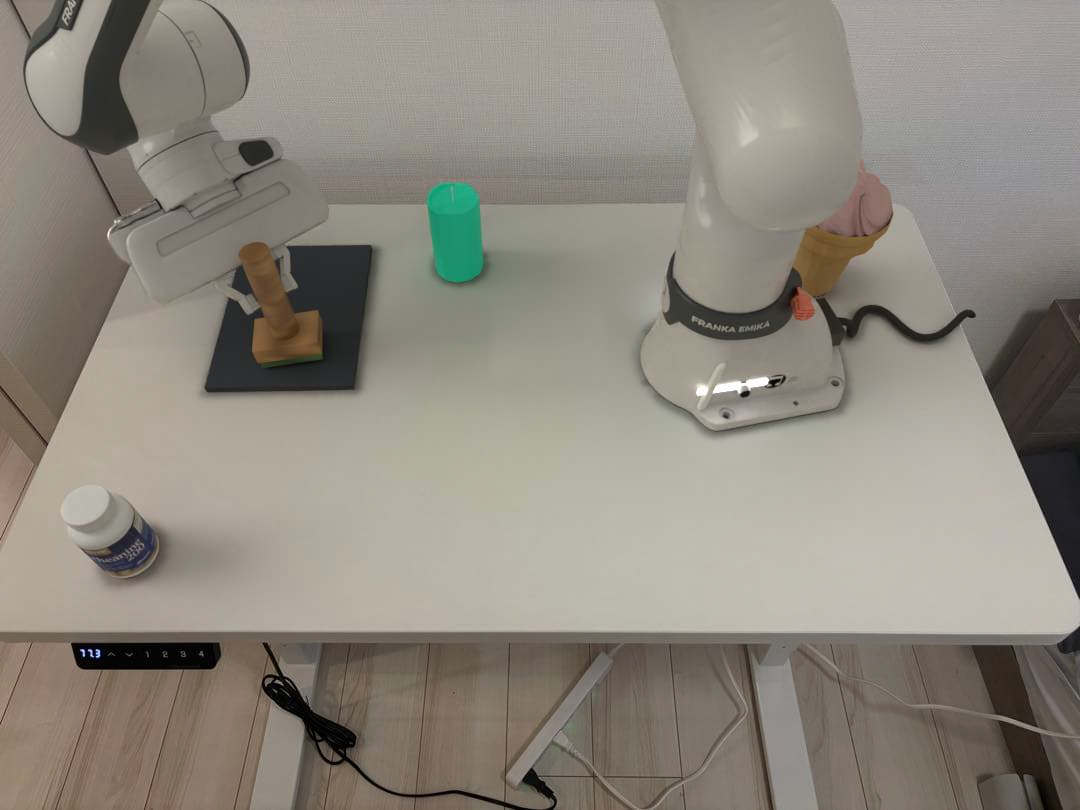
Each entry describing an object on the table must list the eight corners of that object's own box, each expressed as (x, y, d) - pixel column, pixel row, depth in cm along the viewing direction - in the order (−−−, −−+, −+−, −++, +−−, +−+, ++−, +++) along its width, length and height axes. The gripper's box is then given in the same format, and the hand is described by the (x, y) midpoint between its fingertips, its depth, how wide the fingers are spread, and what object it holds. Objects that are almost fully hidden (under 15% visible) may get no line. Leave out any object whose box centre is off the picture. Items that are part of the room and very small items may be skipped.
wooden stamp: (324, 328, 91) (290, 230, 80) (324, 360, 87) (288, 263, 77) (262, 337, 90) (219, 240, 79) (260, 369, 87) (215, 273, 76)
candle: (482, 282, 96) (477, 205, 87) (432, 282, 96) (422, 204, 87) (484, 248, 100) (480, 170, 90) (437, 247, 100) (427, 169, 90)
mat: (372, 249, 100) (371, 244, 99) (353, 389, 87) (352, 385, 86) (244, 251, 99) (242, 246, 99) (206, 392, 87) (204, 387, 86)
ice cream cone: (775, 317, 94) (827, 180, 77) (757, 252, 100) (802, 113, 84) (866, 315, 94) (937, 178, 78) (842, 251, 100) (903, 112, 84)
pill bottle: (107, 589, 73) (56, 543, 65) (97, 542, 76) (46, 492, 68) (166, 564, 75) (123, 516, 67) (154, 519, 78) (112, 467, 70)
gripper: (96, 220, 73) (184, 350, 76) (290, 131, 81) (361, 252, 85) (97, 232, 78) (179, 353, 82) (278, 147, 86) (346, 260, 90)
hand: (273, 301), depth 83 cm, fingers closed on wooden stamp, 3 cm apart
